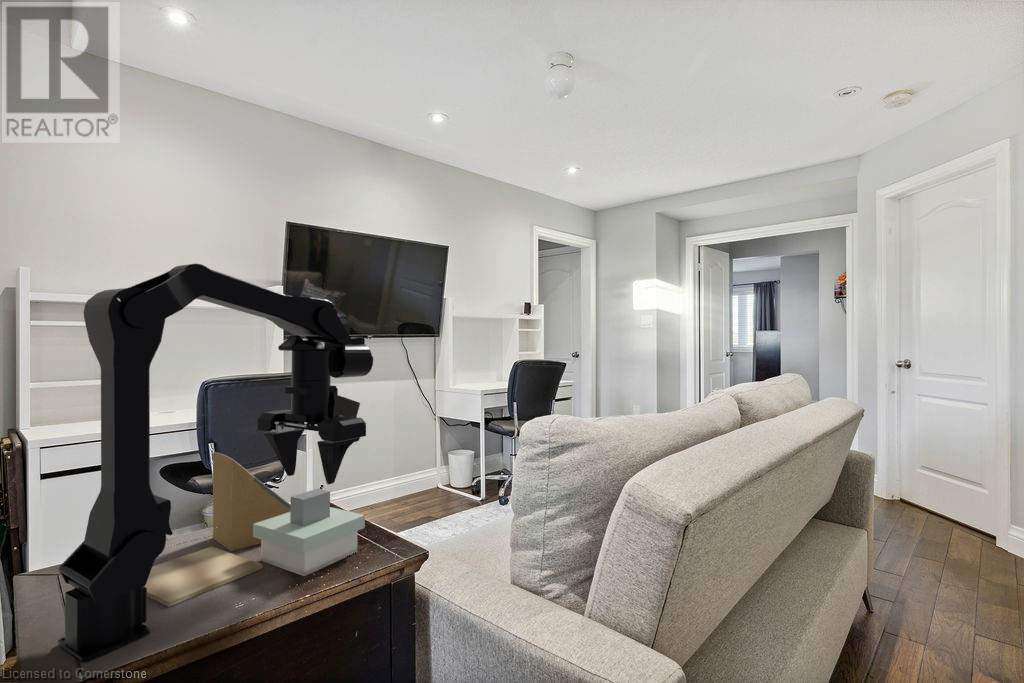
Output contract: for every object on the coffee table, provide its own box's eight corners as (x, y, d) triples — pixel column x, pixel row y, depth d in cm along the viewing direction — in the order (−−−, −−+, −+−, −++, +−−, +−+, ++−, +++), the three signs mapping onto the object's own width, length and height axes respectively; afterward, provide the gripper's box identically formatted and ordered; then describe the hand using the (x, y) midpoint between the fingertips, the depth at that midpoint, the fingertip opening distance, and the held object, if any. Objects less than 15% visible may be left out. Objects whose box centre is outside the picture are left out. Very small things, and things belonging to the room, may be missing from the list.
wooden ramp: (321, 527, 95) (322, 445, 95) (231, 552, 84) (231, 459, 83) (299, 516, 101) (299, 438, 101) (212, 538, 89) (212, 451, 89)
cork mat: (168, 606, 66) (168, 602, 66) (118, 582, 73) (118, 578, 73) (262, 568, 77) (262, 564, 77) (211, 550, 84) (211, 546, 84)
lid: (303, 553, 74) (304, 510, 74) (253, 537, 80) (253, 497, 80) (364, 527, 84) (365, 490, 84) (315, 515, 90) (316, 480, 90)
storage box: (304, 576, 75) (304, 541, 75) (261, 561, 80) (261, 528, 80) (357, 552, 84) (357, 520, 84) (314, 539, 89) (315, 510, 89)
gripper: (392, 379, 84) (391, 476, 84) (313, 374, 93) (312, 462, 93) (337, 384, 74) (336, 493, 74) (255, 378, 84) (255, 475, 84)
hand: (310, 479), depth 82 cm, fingers open, 9 cm apart
